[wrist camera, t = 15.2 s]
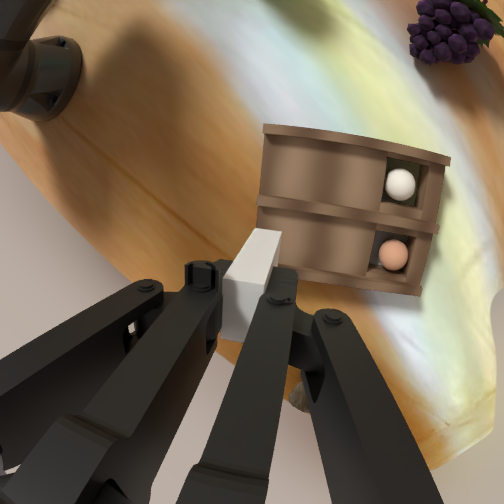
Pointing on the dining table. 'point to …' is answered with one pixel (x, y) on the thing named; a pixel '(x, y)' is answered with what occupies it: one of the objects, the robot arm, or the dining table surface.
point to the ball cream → (399, 184)
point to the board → (345, 206)
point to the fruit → (452, 30)
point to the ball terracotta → (393, 254)
